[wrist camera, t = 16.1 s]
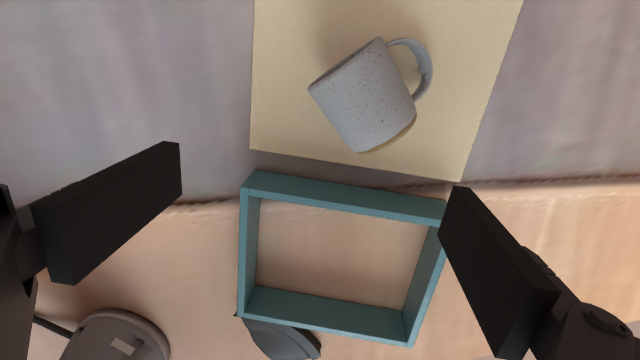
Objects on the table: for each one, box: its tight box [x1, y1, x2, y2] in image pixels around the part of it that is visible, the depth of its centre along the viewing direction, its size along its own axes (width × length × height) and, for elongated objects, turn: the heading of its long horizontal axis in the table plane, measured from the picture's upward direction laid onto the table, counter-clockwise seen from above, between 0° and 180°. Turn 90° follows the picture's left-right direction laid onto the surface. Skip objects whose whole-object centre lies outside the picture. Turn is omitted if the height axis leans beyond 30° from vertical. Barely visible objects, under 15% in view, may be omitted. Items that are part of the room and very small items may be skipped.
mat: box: [249, 0, 524, 182], centre depth 31 cm, size 24×18×1 cm
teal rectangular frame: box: [237, 170, 447, 348], centre depth 37 cm, size 23×19×5 cm
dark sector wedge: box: [233, 311, 321, 360], centre depth 46 cm, size 8×14×2 cm, turn 37°
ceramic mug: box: [307, 36, 433, 155], centre depth 27 cm, size 11×8×8 cm
